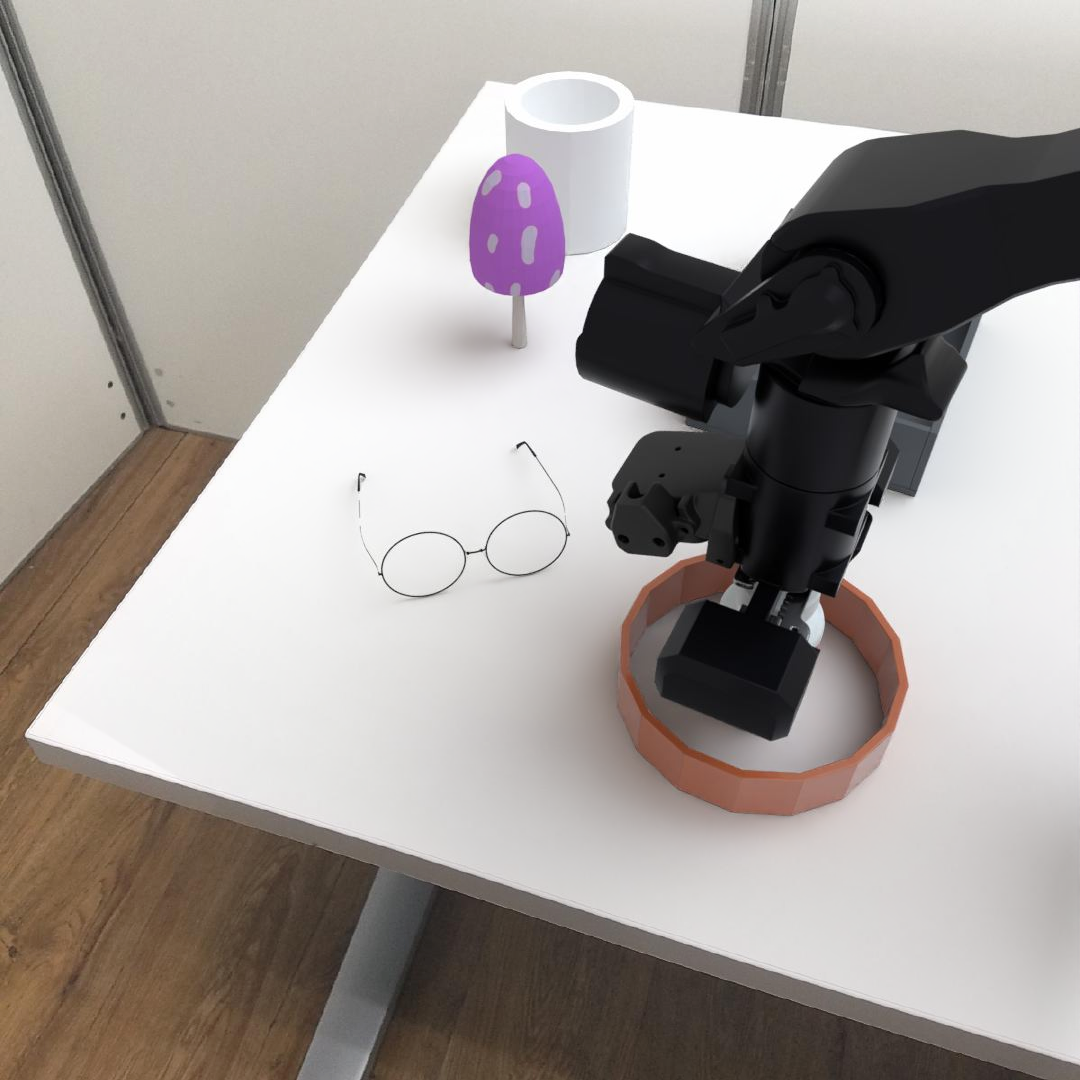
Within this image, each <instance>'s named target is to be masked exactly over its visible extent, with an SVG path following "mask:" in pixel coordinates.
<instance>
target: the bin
mask: <svg viewBox="0 0 1080 1080" xmlns="http://www.w3.org/2000/svg"><path fill="white" fill-rule="evenodd" d="M793 209H794V207H793V208H792V207H791V208H790V209H789V211H788V212H787V213H786V215H785V216H784V219H783V220H782V222H783V221H784V220H785V218H786V217H787V216H788V215H789V213H790V212H791V211H792V210H793ZM982 317H983V315H981V316H979V317H977V318H975V319H973V320H972V321H970V322H968V323H966V324H964V325H962V326H960V327H959V328H957V329H955V330H953V331H951V332H949V333H947V334H944V335H942V337H943V339H944V340H945V341H946V342H947V343H948V344H950V345H952V346H953V347H954V348H955V349H956V350H957V351H958V353H959V354H960V355H961V356H962V357H963V358H964V359H965V361H966V362H967V358H968V355H969V353H970V350H971V347H972V345H973V342H974V339H975V336H976V334H977V331H978V328H979V325H980V323H981V321H982ZM759 368H760V364H757V367H756V370H755V372H754V375H753V377H752V379H751V382H750V384H749V386H748V388H747V390H746V391H745V393H744V395H743V396H742V398H741V400H740V401H739V402H738V403H737V404H736V405H735V406H734V407H733V408H728V407H726V406H723V405H720V404H717V406H716V407H715V409H714V410H713V412H712V414H711V417H710V419H709V421H708V422H707V423H703V422H700V421H695V420H692V419H690V418H687V417H685V421H684V424H685V425H687V426H690V427H692V428H697V429H700V430H703V431H704V432H718V433H722V434H725V435H726V436H728V437H735V438H743V439H746V437H747V433H748V428H749V423H750V417H751V412H752V406H753V401H754V395H755V390H756V384H757V379H758V373H759ZM950 403H951V402H950ZM950 403H949V405H948V407H947V409H946V411H945V413H944V415H943V417H942V418H941V419H940V420H939V421H936V422H929V421H926V420H923V419H920V418H917V417H914V416H911V415H908V414H905V413H903V412H900V411H897V415H896V418H895V421H894V424H893V427H892V430H891V433H890V437H891V439H892V440H893V442H894V443H895V444H896V446H897V447H898V448H899V450H900V453H899V456H898V459H897V462H896V465H895V468H894V471H893V474H892V477H891V479H890V482H889V484H888V487H887V489H889V490H892V491H895V492H899V493H902V494H905V495H909V496H911V497H916V495H917V492H918V491H919V488H920V485H921V482H922V479H923V476H924V474H925V471H926V469H927V465H928V463H929V460H930V458H931V455H932V452H933V449H934V447H935V445H936V441H937V439H938V436H939V434H940V430H941V429H942V425H943V423H944V421H945V420H944V419H945V417H946V414H947V412H948V409H949V408H950V407H949V406H950Z"/></svg>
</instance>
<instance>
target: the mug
mask: <svg viewBox="0 0 1080 1080" xmlns="http://www.w3.org/2000/svg"><path fill="white" fill-rule="evenodd" d="M634 115H635V97H634V96H633V94H632V91H631V89H629V88H627V86H625V85H624V84H623V83H621V82H620V81H617V80H615V79H612V78H610V77H608V76H606V75H601V74H597V73H591V72H587V71H586V72H585V71H568V70H567V71H566V70H565V71H556V72H546V73H542V74H539V75H534V76H530V77H528V78H527V79H525V80H522V81H520V82H518V83H516V84H515V85H514V86H512V87H511V89H510V90H508V91H507V93H506V95H505V99H504V125H505V126H504V127H505V152H506V155H505V156H507V155H509V154H521V155H524V156H527V157H529V158H531V159H533V160H534V161H535V162H536V163H537V164H538V165H539V166H540V167H541V168H542V169H543V170H544V172H545V173H546V175H547V177H548V178H549V180H550V182H551V183H552V185H553V188H554V190H555V193H556V196H557V198H558V202H559V206H560V210H561V215H562V219H563V224H564V233H565V256H571V255H581V254H589V253H593V252H596V251H600V250H603V249H606V248H608V247H609V246H611V245H612V244H614V243H616V242H617V241H619V240H620V239H621V237H622V236H623V235H624V234H625V233H626V230H627V226H628V219H629V217H628V216H629V201H630V200H629V199H630V198H629V197H630V185H631V184H630V183H631V166H632V151H633V149H632V148H633V133H634Z"/></svg>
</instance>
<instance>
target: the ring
mask: <svg viewBox="0 0 1080 1080" xmlns="http://www.w3.org/2000/svg"><path fill="white" fill-rule="evenodd" d="M705 558H706V553H703V554H699V555H696V556H692V557H688V558H684V559H680V560H679V561H677V562H676V563H674V564H673V565H671V567H669V568H667V569H666V570H664V571H663V572H662V573H661V574H659V575H658V576H655V578H653V579H652V580H651V581H649V582H648V583H646V584H645V585H644V586H642V587H641V589H640V591H639V593H638V595H637V597H636V599H635V600H634V601H633V603H632V605H631V606H630V607H631V608H630V609H629V611H628V612H627V614H626V616H625V618H624V619H623V621H622V623H621V626H620V637H619V648H618V663H617V696H616V699H617V700H616V705H617V709H618V711H619V713H620V715H621V718H622V720H623V722H624V724H625V727H626V729H627V731H628V733H629V735H630V737H631V740H632V742H633V744H634V746H635V749H636V751H637V752H638V753H639V754H640V755H641V756H642V757H643V758H644V759H646V761H648V762H649V763H650V764H651V765H652V766H653V767H654V768H655V769H656V770H657V771H658V772H659V773H660V774H661V775H663V776H664V778H665V779H667V780H668V781H669V782H670V783H671V784H672V785H673V786H674V787H675V788H676V789H677V790H679V791H682V792H684V793H686V794H689V795H692V796H694V797H696V798H698V799H700V800H703V801H705V802H708V803H710V804H712V805H715V806H716V807H719V808H722V809H724V810H726V811H728V812H731V813H742V814H743V813H744V814H756V815H757V814H758V815H775V816H794V815H798V814H801V813H803V812H807V811H809V810H812V809H813V810H814V809H816V808H819V807H822V806H825V805H828V804H831V803H834V802H837V801H840V800H843V799H844V798H846V797H847V796H848V795H849V794H850V793H851V792H852V791H854V789H855V788H856V787H857V786H858V785H859V784H861V783H862V782H863V781H864V780H865V778H867V777H868V776H869V775H870V774H871V773H872V772H874V770H875V769H876V768H877V767H879V765H880V764H881V762H882V760H883V758H884V755H885V754H886V753H885V752H886V751H887V748H888V747H889V744H890V741H891V739H892V736H893V735H894V732H895V731H896V727H897V724H898V721H899V718H900V715H901V711H902V709H903V706H904V703H905V699H906V697H907V693H908V690H909V686H910V683H909V680H908V679H909V678H908V674H907V670H906V664H905V659H904V654H903V647H902V642H901V639H900V637H899V636H898V634H897V633H896V632H895V630H894V628H893V627H892V625H891V624H890V622H889V621H888V620H887V618H886V617H885V615H884V614H883V613H882V611H881V610H880V608H879V606H878V605H877V604H876V603H875V601H874V600H873V598H872V597H870V596H869V595H867V594H866V593H865V592H863V591H862V590H861V589H859V588H858V587H856V586H855V585H853V584H852V583H851V582H849V581H848V580H847V579H845V578H844V577H843V579H842V582H841V584H840V587H839V589H838V592H837V594H836V597H835V598H833V597H830V596H827V595H824V594H821V595H820V600H819V602H820V604H821V607H822V609H823V613H824V619H825V621H827V622H828V623H830V624H831V625H833V627H835V628H836V629H838V630H839V631H840V632H842V633H843V634H844V635H845V636H847V637H848V638H849V639H851V640H852V641H853V643H854V645H855V647H856V648H857V649H858V651H859V652H860V654H861V655H862V657H863V659H864V660H865V661H866V663H867V664H868V666H869V667H870V669H871V670H872V672H873V674H874V675H875V677H876V681H877V687H878V694H879V699H880V704H881V705H880V706H881V709H882V717H883V720H882V723H881V727H880V729H879V730H878V731H877V732H876V733H875V734H874V735H873V736H872V737H870V739H868V740H867V741H866V742H865V743H864V744H863V745H862V746H861V747H860V748H859V749H857V751H855V752H854V753H853V754H852V755H851V756H850V757H847V758H844V759H841V760H838V761H837V760H836V761H834V762H830V763H828V764H825V765H822V766H818V767H816V768H815V767H814V768H812V769H809V770H806V771H802V772H787V771H771V770H769V771H768V770H755V769H754V770H752V769H742V768H740V767H737V766H735V765H733V764H732V765H731V764H730V763H727V762H725V761H723V760H720V759H718V758H715V757H713V756H711V755H708V754H705V753H703V752H700V751H698V750H695V749H693V748H691V747H689V746H688V745H687V744H686V743H684V741H682V740H681V739H680V738H679V736H677V735H676V734H675V733H674V732H672V731H671V729H669V728H668V727H667V726H666V725H665V724H663V723H662V721H660V719H658V718H657V717H656V716H655V715H654V714H653V713H652V712H650V710H649V708H648V706H647V704H646V701H645V699H644V697H643V695H642V692H641V691H640V689H639V686H638V684H637V682H636V680H635V678H634V676H633V674H632V672H631V670H630V669H631V668H630V667H631V666H630V665H631V664H630V663H631V657H632V655H633V653H634V651H635V650H636V648H637V646H638V644H639V642H640V641H641V639H642V637H643V635H644V633H645V631H646V629H647V628H649V627H650V626H651V625H653V624H654V623H655V622H657V621H658V620H660V619H661V618H662V617H664V616H665V615H666V614H668V613H669V612H671V610H673V609H674V608H675V607H677V606H678V605H680V604H683V603H687V602H690V601H695V600H697V599H701V598H705V597H708V596H712V595H713V596H714V595H717V594H720V593H725V591H726V590H727V589H728V588H729V587H730V586H731V585H732V584H733V580H734V575H735V573H736V571H737V569H738V567H739V564H737V563H734V564H733V566H732V568H731V569H727V568H725V567H722V566H719V565H716V564H713V563H711V562H708V561H705Z"/></svg>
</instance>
